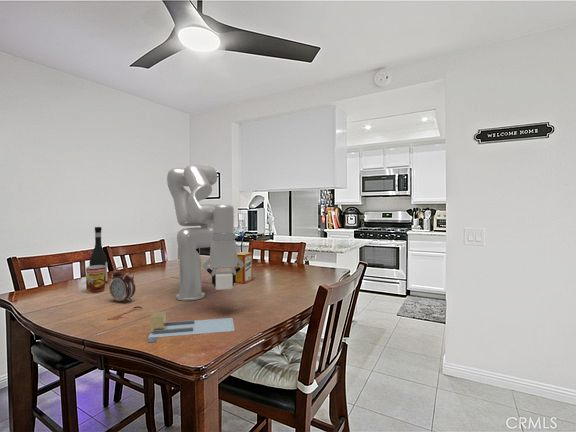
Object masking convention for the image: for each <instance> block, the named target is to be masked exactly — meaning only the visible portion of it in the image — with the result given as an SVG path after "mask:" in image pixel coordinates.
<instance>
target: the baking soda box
mask: <svg viewBox="0 0 576 432" xmlns="http://www.w3.org/2000/svg"><path fill="white" fill-rule="evenodd" d="M237 257H238V258H239V259H240V260H241V261H242V262H243V263H244V266H243V267H242V268H241V269H240V270H239V272H238V273H237V274H236V283H235V284H241V285H245V284H248V283H250V282H251V281H253V259H254V257H253V252H247V251H241V252H238V251H237ZM239 265H240V264H239V263H238V262H237V266H236V267H234V268H235V269H236V268H237V267H238V266H239Z"/></svg>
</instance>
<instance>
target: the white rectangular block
mask: <svg viewBox="0 0 576 432" xmlns="http://www.w3.org/2000/svg"><path fill="white" fill-rule="evenodd" d="M215 275H216V286H215V290H231V289H234V288H233V275H232V270H216V272H215Z"/></svg>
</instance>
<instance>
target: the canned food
mask: <svg viewBox="0 0 576 432" xmlns="http://www.w3.org/2000/svg"><path fill="white" fill-rule="evenodd" d="M85 272H86V273H85V276H86V278H85V282H86V283H85V285H86V286H85V287H86V288H85V289H86V291H85V292H86V294H92V295H93V294H94V295H95V294H101V293H103V292H105V291H106V283H105V266H104V265H94V266H90V265H88V266H86V267H85Z"/></svg>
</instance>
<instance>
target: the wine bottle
mask: <svg viewBox="0 0 576 432" xmlns="http://www.w3.org/2000/svg"><path fill="white" fill-rule="evenodd" d="M94 236H95V237H94V238H95V242H94V249H93V250H92V253H91V256H90V257H89V258H90V259H89V266H94V265H104V266H105V284H107V282H108V258H107V255H106V253H105V251H104V248H103V246H102V226H95V227H94Z"/></svg>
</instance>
